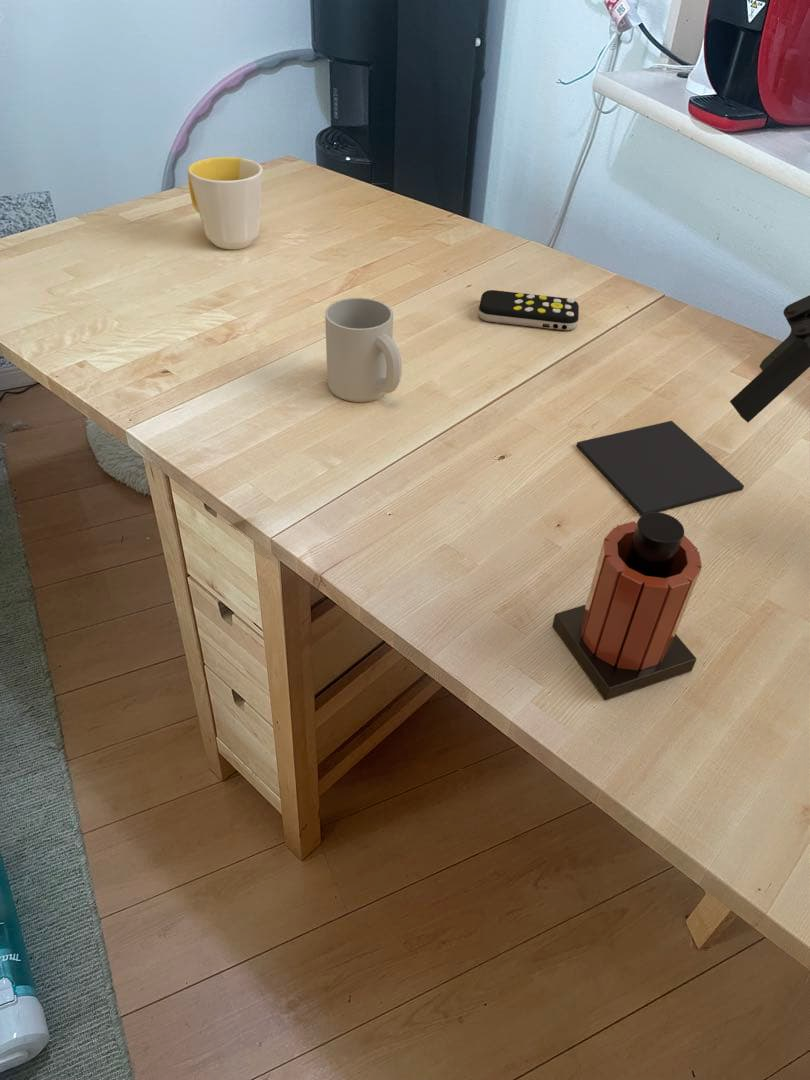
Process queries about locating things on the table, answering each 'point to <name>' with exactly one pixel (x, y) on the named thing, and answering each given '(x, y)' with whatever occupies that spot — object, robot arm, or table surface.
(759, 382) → the robot arm
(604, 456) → the mat
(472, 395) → the table surface
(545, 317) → the remote control
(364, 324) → the cup
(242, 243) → the mug
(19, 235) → the table surface
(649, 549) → the post stand
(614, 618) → the sleeve ring
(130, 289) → the table surface
